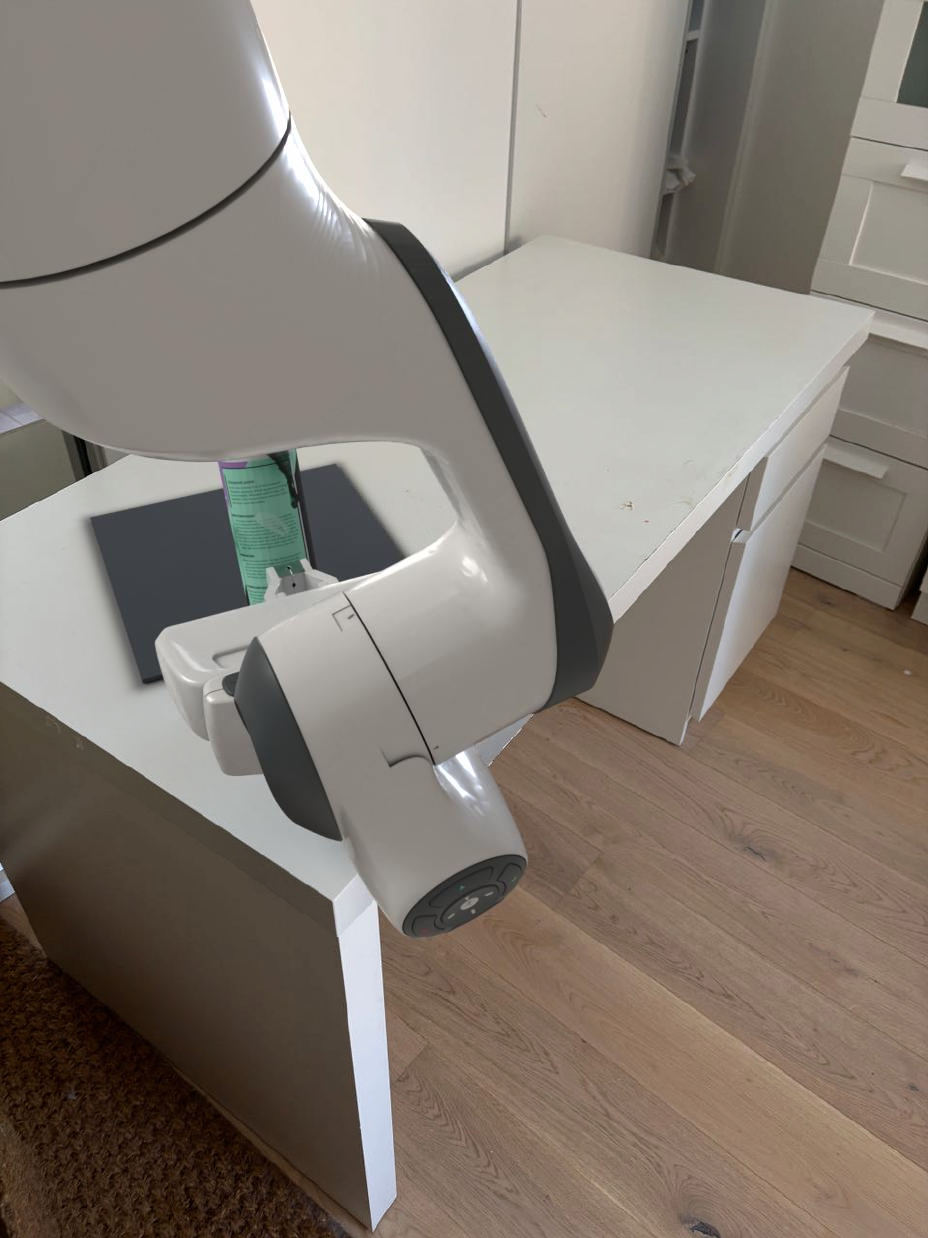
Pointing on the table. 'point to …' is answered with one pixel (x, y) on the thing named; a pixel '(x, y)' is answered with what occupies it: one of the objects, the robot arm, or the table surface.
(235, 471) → the spray can
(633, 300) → the table surface
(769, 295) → the table surface
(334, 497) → the mat
